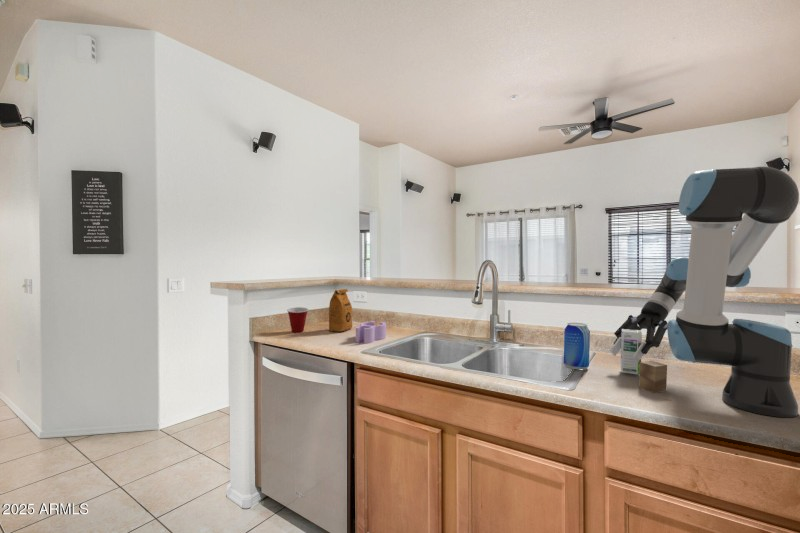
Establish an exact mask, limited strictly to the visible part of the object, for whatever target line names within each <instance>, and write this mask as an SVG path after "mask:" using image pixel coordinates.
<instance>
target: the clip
mask: <svg viewBox="0 0 800 533" xmlns="http://www.w3.org/2000/svg"><path fill="white" fill-rule="evenodd" d="M386 338H387V322H386V321H380V323H379V325H376V321H374V320H371V321H364V322H360V324H359V325H356V327H355V343H357V344H359V343H361V341H363V344H365V345H366V344H371V343H374V342H375V341H382V340H383V341H384V340H385V339H386Z"/></svg>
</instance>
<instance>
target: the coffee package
mask: <svg viewBox="0 0 800 533" xmlns="http://www.w3.org/2000/svg"><path fill="white" fill-rule="evenodd" d="M348 292H349V290H348V288H343V289H335V290H334V291H333V294H332V296H331V297H330V300H329V307H328V331H329V332H338V333H339V332H345V331H349V330H351V329H353V306H352V303H351V301H350V299H349V298H348V294H347V293H348Z"/></svg>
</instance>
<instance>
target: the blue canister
mask: <svg viewBox="0 0 800 533" xmlns="http://www.w3.org/2000/svg"><path fill="white" fill-rule="evenodd" d="M590 338H591V331H590V329H589V327H588V324H586V323H583V322H582V323H580V322H567V324H566V326H565V328H564V339H563V364H564V365H565V368H567V369H570V370H574V369H583V370H582V371H586V370H587V369H588V368H589V367H590V342H591V339H590Z"/></svg>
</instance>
